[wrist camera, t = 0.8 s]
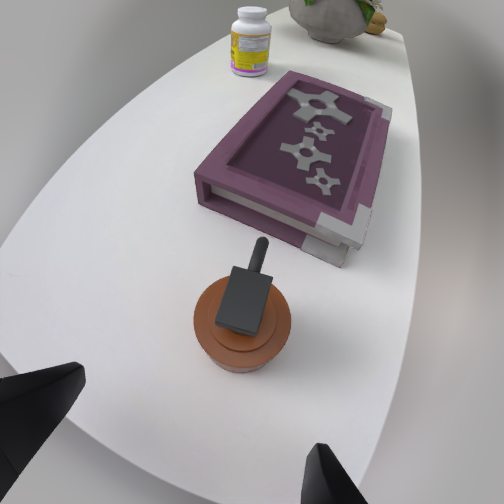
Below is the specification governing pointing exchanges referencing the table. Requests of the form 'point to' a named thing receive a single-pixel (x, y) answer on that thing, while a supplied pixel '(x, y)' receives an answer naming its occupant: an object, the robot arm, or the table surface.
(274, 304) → the soap bottle
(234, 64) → the supplement bottle
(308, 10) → the flower arrangement
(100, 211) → the table surface
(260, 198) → the book
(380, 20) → the pot
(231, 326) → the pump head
